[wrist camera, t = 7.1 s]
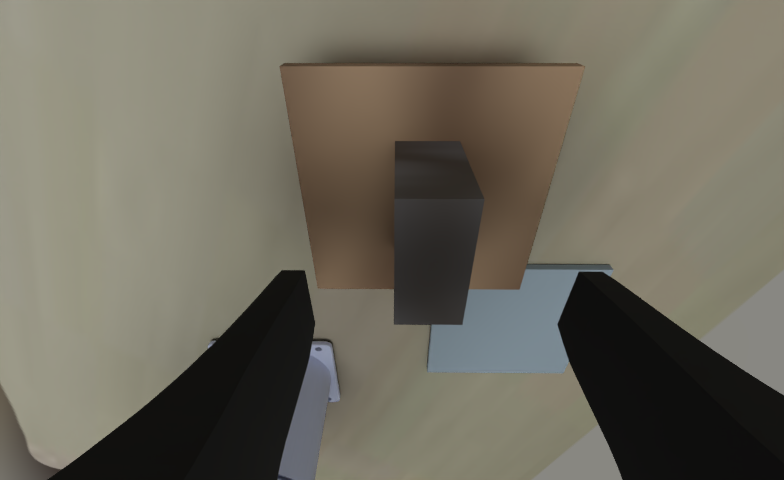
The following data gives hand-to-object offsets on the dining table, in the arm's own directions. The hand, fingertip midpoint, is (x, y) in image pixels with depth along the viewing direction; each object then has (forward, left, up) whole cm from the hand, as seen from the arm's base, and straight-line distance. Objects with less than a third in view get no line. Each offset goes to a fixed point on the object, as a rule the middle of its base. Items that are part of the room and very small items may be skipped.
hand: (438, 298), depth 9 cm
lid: (0, 0, -6) cm, 6 cm away
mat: (+7, -13, -10) cm, 18 cm away
